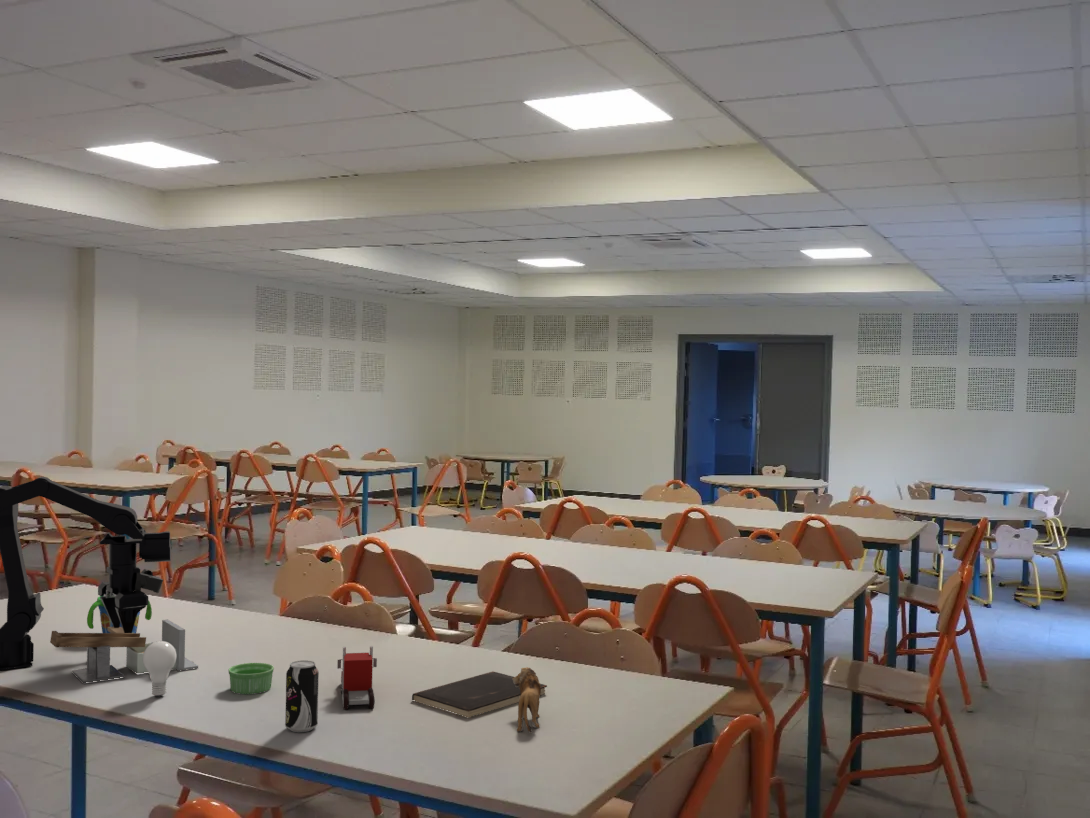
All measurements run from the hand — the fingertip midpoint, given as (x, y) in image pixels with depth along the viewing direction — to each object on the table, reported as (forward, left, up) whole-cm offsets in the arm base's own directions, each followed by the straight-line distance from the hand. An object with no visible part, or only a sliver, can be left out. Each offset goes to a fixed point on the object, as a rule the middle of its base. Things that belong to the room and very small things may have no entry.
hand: (122, 631), depth 228 cm
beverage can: (+13, -67, -7) cm, 68 cm away
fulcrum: (-8, -11, -6) cm, 14 cm away
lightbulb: (-2, -33, -7) cm, 33 cm away
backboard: (+9, -10, -6) cm, 15 cm away
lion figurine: (+50, -86, -7) cm, 100 cm away
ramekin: (+15, -38, -7) cm, 41 cm away
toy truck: (+31, -54, -7) cm, 63 cm away
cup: (+3, -11, -6) cm, 13 cm away
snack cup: (+5, +21, -7) cm, 23 cm away
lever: (-8, -4, 0) cm, 9 cm away
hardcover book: (+51, -69, -7) cm, 86 cm away
